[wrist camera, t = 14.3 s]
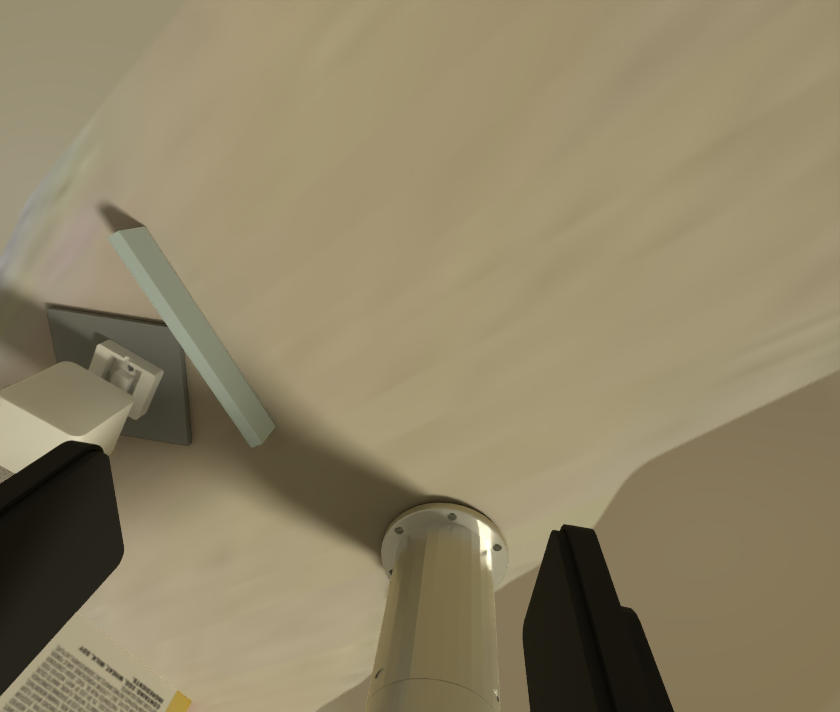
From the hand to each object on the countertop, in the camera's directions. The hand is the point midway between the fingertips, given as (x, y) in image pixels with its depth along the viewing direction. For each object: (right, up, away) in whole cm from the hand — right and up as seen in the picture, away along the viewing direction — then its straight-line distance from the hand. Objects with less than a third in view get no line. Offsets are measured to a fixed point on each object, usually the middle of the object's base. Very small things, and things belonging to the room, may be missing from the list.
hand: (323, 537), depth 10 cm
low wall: (-16, +6, +30) cm, 35 cm away
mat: (-25, +2, +33) cm, 42 cm away
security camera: (-25, +1, +33) cm, 41 cm away
